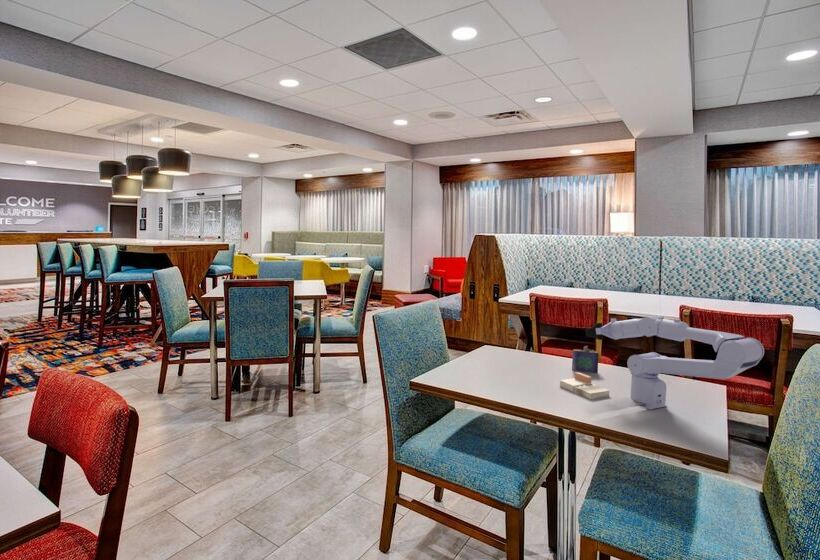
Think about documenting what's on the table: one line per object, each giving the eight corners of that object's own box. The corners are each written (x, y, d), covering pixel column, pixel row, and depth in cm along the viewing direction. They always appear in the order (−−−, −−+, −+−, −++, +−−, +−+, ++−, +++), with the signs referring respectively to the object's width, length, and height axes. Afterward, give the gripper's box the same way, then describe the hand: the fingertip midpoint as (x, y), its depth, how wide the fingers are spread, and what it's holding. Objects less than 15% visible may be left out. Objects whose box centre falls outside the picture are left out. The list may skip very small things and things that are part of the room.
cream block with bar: (591, 388, 153) (591, 377, 153) (572, 391, 150) (573, 379, 149) (577, 383, 158) (578, 372, 158) (559, 386, 155) (560, 374, 155)
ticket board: (616, 399, 146) (616, 390, 146) (568, 408, 138) (568, 398, 138) (578, 384, 161) (578, 376, 160) (533, 391, 152) (533, 382, 152)
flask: (571, 373, 175) (572, 345, 174) (572, 371, 177) (573, 344, 176) (597, 376, 171) (599, 348, 170) (597, 374, 173) (599, 346, 172)
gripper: (640, 316, 153) (606, 320, 164) (609, 317, 146) (577, 321, 158) (643, 337, 151) (609, 340, 163) (613, 339, 145) (580, 342, 157)
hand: (594, 332), depth 161 cm, fingers open, 7 cm apart
